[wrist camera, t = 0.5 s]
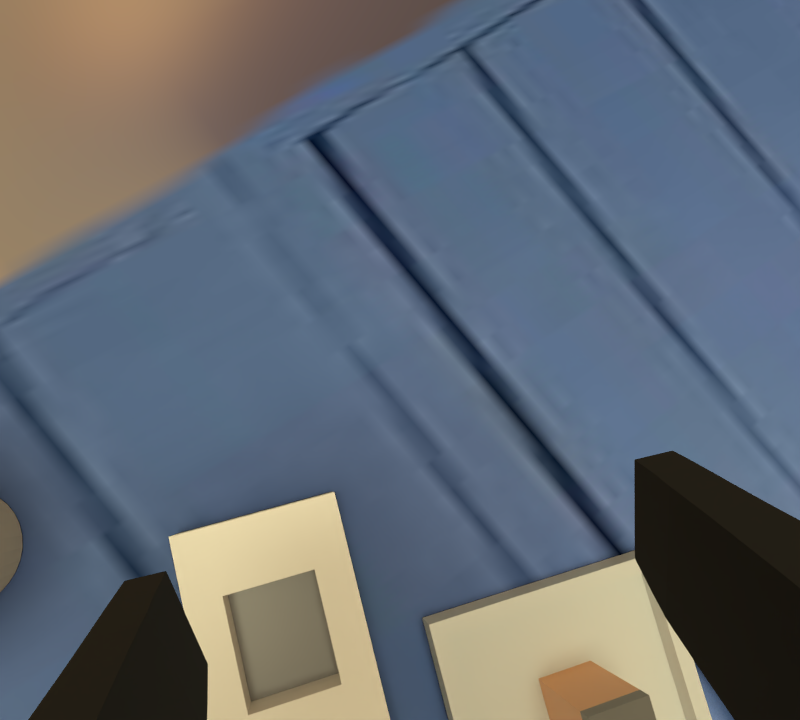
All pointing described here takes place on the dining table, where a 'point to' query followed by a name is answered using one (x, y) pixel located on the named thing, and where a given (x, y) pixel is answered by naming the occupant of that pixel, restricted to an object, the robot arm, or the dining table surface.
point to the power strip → (279, 616)
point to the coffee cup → (9, 544)
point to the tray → (561, 644)
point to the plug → (593, 695)
